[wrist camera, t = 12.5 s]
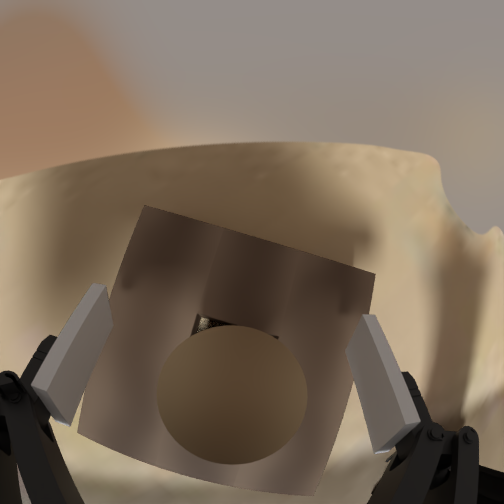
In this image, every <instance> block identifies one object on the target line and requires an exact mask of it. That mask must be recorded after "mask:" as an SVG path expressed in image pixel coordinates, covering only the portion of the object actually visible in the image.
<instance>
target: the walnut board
mask: <svg viewBox="0 0 504 504" xmlns="http://www.w3.org/2000/svg"><path fill="white" fill-rule="evenodd" d="M375 275H376V274H374V273H371V272H368V271H364V270H361V269H358V268H355V267H352V266H348V265H345V264H342V263H339V262H335V261H332V260H329V259H326V258H323V257H319V256H316V255H313V254H309V253H306V252H303V251H300V250H296V249H293V248H290V247H286V246H283V245H280V244H276V243H273V242H270V241H266V240H263V239H260V238H256V237H253V236H250V235H246V234H243V233H240V232H236V231H233V230H229V229H226V228H223V227H219V226H216V225H212V224H209V223H205V222H202V221H198V220H195V219H192V218H188V217H185V216H181V215H178V214H174V213H171V212H167V211H164V210H160V209H157V208H153V207H149V206H146V205H144V208H143V210H142V213H141V215H140V217H139V220H138V222H137V225H136V227H135V230H134V232H133V235H132V237H131V240H130V242H129V245H128V247H127V250H126V253H125V255H124V258H123V261H122V264H121V266H120V269H119V272H118V275H117V278H116V281H115V284H114V286H113V289H112V293H111V296H110V299H109V305H110V310H111V316H112V321H113V328H112V330H111V332H110V334H109V336H108V338H107V340H106V342H105V345H104V347H103V349H102V351H101V353H100V355H99V358H98V360H97V362H96V364H95V367H94V369H93V371H92V374H91V376H90V378H89V381H88V383H87V385H86V388H85V393H84V398H83V403H82V408H81V414H80V419H79V425H78V431H77V433H79V434H81V435H83V436H85V437H87V438H89V439H91V440H93V441H95V442H97V443H99V444H101V445H103V446H106V447H108V448H110V449H112V450H115V451H117V452H119V453H122V454H124V455H127V456H129V457H132V458H134V459H137V460H139V461H142V462H145V463H148V464H150V465H153V466H156V467H159V468H162V469H165V470H168V471H172V472H175V473H178V474H182V475H185V476H189V477H193V478H196V479H200V480H204V481H208V482H213V483H217V484H222V485H227V486H232V487H237V488H243V489H249V490H255V491H262V492H270V493H278V494H288V495H301V496H314V494H315V492H316V489H317V487H318V484H319V482H320V480H321V477H322V475H323V472H324V470H325V467H326V464H327V462H328V459H329V456H330V454H331V451H332V448H333V445H334V442H335V440H336V437H337V434H338V431H339V428H340V425H341V422H342V418H343V415H344V412H345V409H346V405H347V402H348V399H349V395H350V392H351V388H352V384H353V381H354V378H353V375H352V371H351V368H350V365H349V361H348V358H347V355H346V352H345V350H346V348H347V346H348V344H349V342H350V340H351V338H352V336H353V334H354V331H355V329H356V327H357V325H358V323H359V321H360V319H361V316H362V314H368V315H369V310H370V305H371V299H372V293H373V287H374V281H375ZM201 317H203V318H206V319H209V320H213V321H216V322H219V323H223V324H226V325H235V326H245V327H250V328H254V329H257V330H260V331H263V332H265V333H267V334H269V335H271V336H273V337H274V338H276V339H277V340H279V341H280V342H281V343H282V344H284V345H285V346H286V347H287V348H288V349H289V350H290V351H291V353H292V354H293V355H294V356H295V358H296V359H297V361H298V362H299V364H300V366H301V368H302V370H303V373H304V376H305V379H306V385H307V396H308V398H307V407H306V411H305V415H304V418H303V420H302V423H301V425H300V426H299V428H298V430H297V432H296V433H295V434H294V436H293V437H292V438H291V439H290V440H289V442H288V443H287V444H286V445H284V446H283V447H282V448H281V449H279V450H278V451H277V452H275V453H273V454H272V455H270V456H268V457H266V458H264V459H261V460H258V461H255V462H252V463H246V464H238V465H228V464H219V463H214V462H210V461H207V460H204V459H202V458H199V457H197V456H195V455H193V454H192V453H190V452H188V451H187V450H186V449H184V448H183V447H182V446H181V445H179V444H178V443H177V442H176V441H175V439H174V438H173V437H172V436H171V435H170V433H169V432H168V431H167V429H166V427H165V425H164V423H163V421H162V419H161V416H160V414H159V409H158V405H157V384H158V379H159V375H160V373H161V370H162V367H163V365H164V364H165V362H166V360H167V358H168V357H169V356H170V354H171V353H172V352H173V351H174V350H175V349H176V347H177V346H178V345H180V344H181V343H182V342H183V341H185V340H186V339H187V338H189V337H191V336H192V335H194V334H196V333H197V330H198V327H199V323H200V320H201Z"/></svg>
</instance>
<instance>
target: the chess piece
mask: <svg viewBox="0 0 504 504" xmlns="http://www.w3.org/2000/svg"><path fill="white" fill-rule="evenodd" d="M374 491H375V490H374ZM374 491H373V492H374ZM373 492H372V493H371V494H373ZM477 504H504V473H503V472H500V471H497V470H493V469H490V468H487V467H484V466H481V465H479V477H478V493H477Z"/></svg>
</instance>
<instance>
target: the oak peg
mask: <svg viewBox="0 0 504 504" xmlns="http://www.w3.org/2000/svg"><path fill="white" fill-rule="evenodd" d="M307 398H308V396H307V385H306V379H305V376H304V373H303V370H302V368H301V366H300V364H299V362H298V361H297V359H296V358H295V356H294V355H293V354H292V353H291V351H290V350H289V349H288V348H287V347H286V346H285V345H284V344H282V343H281V342H280V341H279V340H277V339H276V338H274V337H273V336H271V335H269V334H267V333H265V332H263V331H260V330H257V329H254V328H250V327H245V326H235V325H229V326H218V327H213V328H209V329H206V330H203V331H201V332H198V333H196V334H194V335H192V336H191V337H189V338H187V339H186V340H185V341H183V342H182V343H181V344H180V345H178V346H177V347H176V349H175V350H174V351H173V352H172V353H171V354H170V356H169V357H168V358H167V360H166V362H165V364H164V365H163V367H162V370H161V373H160V375H159V379H158V384H157V405H158V409H159V414H160V416H161V419H162V421H163V423H164V425H165V427H166V429H167V431H168V432H169V433H170V435H171V436H172V437H173V438H174V439H175V441H176V442H177V443H178V444H179V445H181V446H182V447H183V448H184V449H186V450H187V451H188V452H190V453H192V454H193V455H195V456H197V457H199V458H202V459H204V460H207V461H210V462H214V463H219V464H228V465H238V464H246V463H252V462H255V461H258V460H261V459H264V458H266V457H268V456H270V455H272V454H273V453H275V452H277V451H278V450H279V449H281V448H282V447H283V446H284V445H286V444H287V443H288V442H289V440H290V439H291V438H292V437H293V436H294V434H295V433H296V432H297V430H298V428H299V426H300V425H301V423H302V420H303V418H304V415H305V411H306V407H307Z"/></svg>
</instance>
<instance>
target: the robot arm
mask: <svg viewBox="0 0 504 504" xmlns="http://www.w3.org/2000/svg"><path fill="white" fill-rule="evenodd" d="M112 328H113V321H112V316H111V310H110V305H109V300H108V294H107V288H106V285H103V284H97V283H93V284H92V285H91V286H90V288H89V289H88V291H87V292H86V294H85V295H84V297H83V298H82V300H81V301H80V303H79V304H78V306H77V307H76V309H75V310H74V312H73V313H72V315H71V316H70V318H69V320H68V321H67V323H66V324H65V326H64V328H63V329H62V331H61V332H60V334H59V336H58V337H56V336H52V335H49V336H48V337H47V338H45V339H44V340H43V341H42V342H41V343H40V345H39V347H38V348H37V351H36V352H35V353H34V355H33V358H31V360H30V362H29V363H28V365H27V367H26V369H25V370H24V372H23V374H22V376H21V378H20V379H19V377H18V375H17V374H15V373H14V372H12V371H3V372H1V373H0V504H22V500H21V494H20V487H19V480H18V471H17V465H18V468H19V471H20V474H21V477H22V480H23V483H24V485H25V488H26V491H27V493H28V496H29V498H30V501H31V503H32V504H85V503H84V501H83V500H82V498H81V496H80V494H79V492H78V490H77V488H76V486H75V484H74V482H73V479H72V477H71V475H70V473H69V471H68V468H67V466H66V464H65V462H64V459H63V457H62V454H61V452H60V449H59V447H58V444H57V441H56V439H55V436H54V433H53V430H52V427H51V424H50V423H49V418H50V416H52V417H53V418H54V420H55V421H56V422H59V423H61V424H64V425H67V426H69V427H70V426H71V423H72V421H73V418H74V415H75V413H76V410H77V408H78V405H79V403H80V400H81V398H82V395H83V393H84V390H85V388H86V385H87V383H88V381H89V378H90V376H91V374H92V371H93V369H94V367H95V364H96V362H97V360H98V358H99V355H100V353H101V351H102V349H103V347H104V345H105V342H106V340H107V338H108V336H109V334H110V332H111V330H112ZM345 352H346V355H347V358H348V361H349V365H350V368H351V371H352V375H353V378H354V381H355V385H356V388H357V392H358V395H359V399H360V402H361V406H362V409H363V413H364V417H365V420H366V424H367V428H368V432H369V436H370V440H371V443H372V447H373V451H374V454H377V453H382V452H388V451H389V450H391V449H392V448H393V447H394V446H395V447H396V452H395V453H394V454H392V455H391V456H390V457H389V458H388V459H387V460H386V461H385V462H388V461H389V460H391V461H390V463H389V465H388V467H387V469H386V471H385V472H384V474H383V476H382V478H381V480H380V482H379V484H378V485H377V487H376V489H375V491H374V492H373V494H372V496H371V498H370V499H369V501H368V503H367V504H477V493H478V477H479V438H478V434H477V432H476V431H475V430H474V429H473V428H472V427H469V426H464V427H463V428H461V429H460V430H459V431H458V432H453V431H444V429H443V428H442V426H440V425H439V424H437V423H434V422H432V420H431V417H430V415H429V412H428V410H427V407H426V405H425V403H424V400H423V398H422V397H421V393H420V391H419V390H418V386H417V384H416V381H415V379H414V378H413V377H412V376H411V375H410V374H409V372H401V371H400V368H399V366H398V364H397V361H396V359H395V357H394V355H393V352H392V350H391V348H390V346H389V344H388V341H387V339H386V337H385V335H384V333H383V331H382V328H381V326H380V324H379V322H378V320H377V318H376V316H375V315H368V314H362V316H361V319H360V321H359V323H358V325H357V327H356V329H355V331H354V334H353V336H352V338H351V340H350V342H349V344H348V346H347V348H346V350H345Z"/></svg>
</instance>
